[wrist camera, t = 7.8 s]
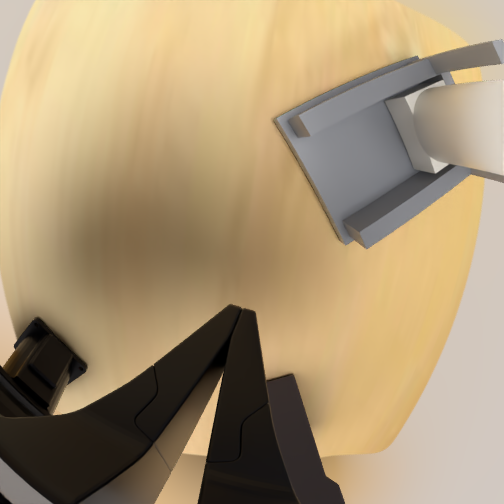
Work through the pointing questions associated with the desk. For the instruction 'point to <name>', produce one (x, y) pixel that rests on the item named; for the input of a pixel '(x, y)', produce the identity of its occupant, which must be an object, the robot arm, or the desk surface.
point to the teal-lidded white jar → (452, 125)
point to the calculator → (299, 445)
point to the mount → (375, 146)
